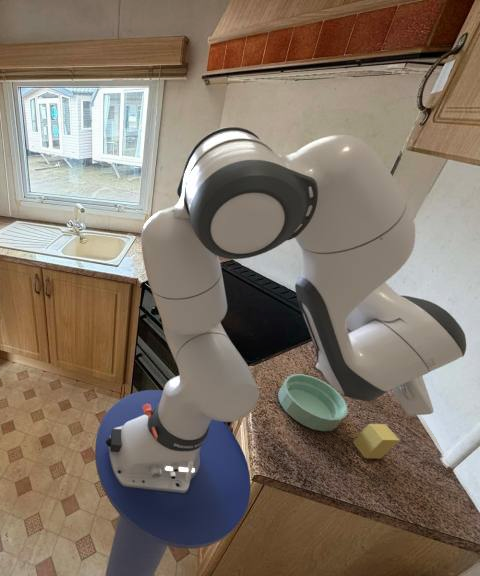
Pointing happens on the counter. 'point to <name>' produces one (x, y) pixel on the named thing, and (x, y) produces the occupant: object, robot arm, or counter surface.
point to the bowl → (312, 402)
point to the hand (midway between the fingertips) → (417, 384)
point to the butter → (375, 441)
